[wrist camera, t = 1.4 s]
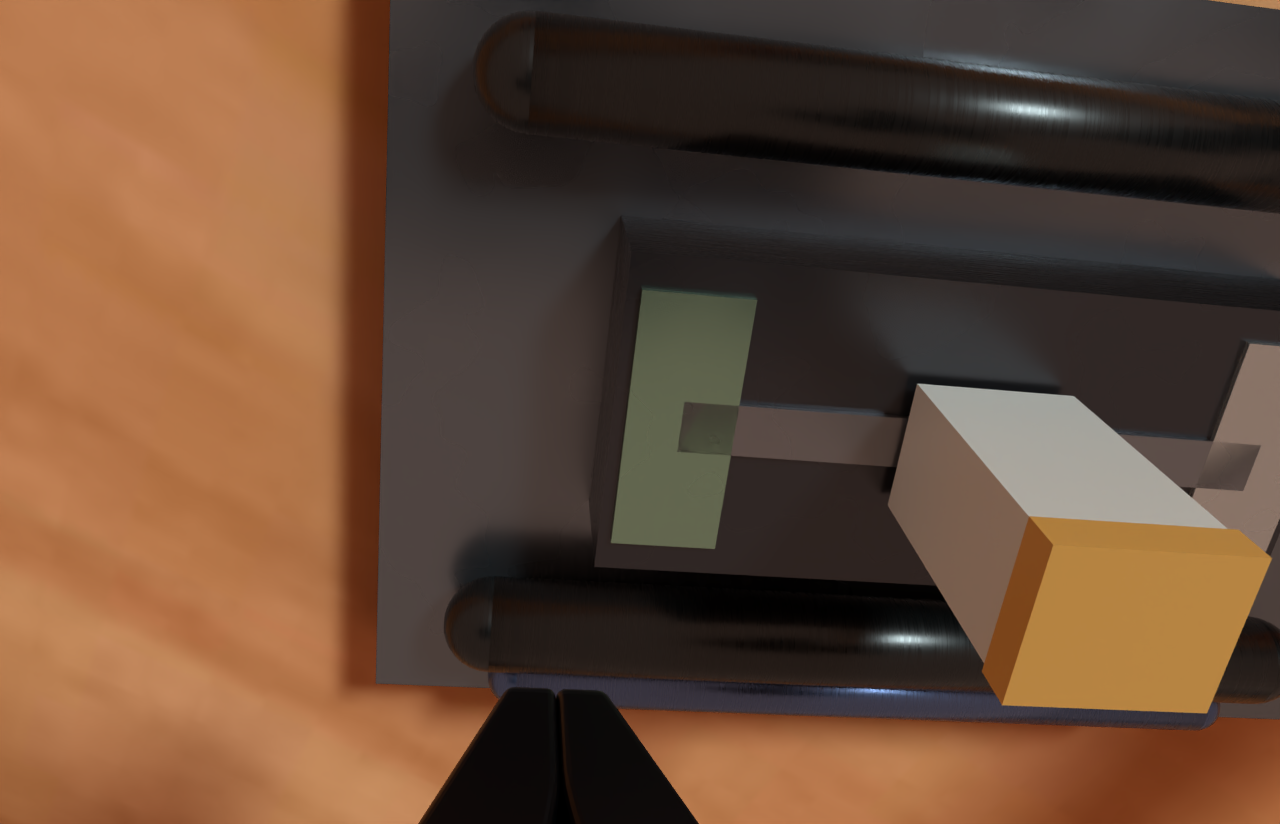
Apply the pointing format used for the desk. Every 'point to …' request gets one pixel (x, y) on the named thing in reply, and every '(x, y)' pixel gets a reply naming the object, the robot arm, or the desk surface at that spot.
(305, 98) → the desk surface
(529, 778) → the robot arm
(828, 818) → the desk surface
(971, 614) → the lever
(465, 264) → the panel
